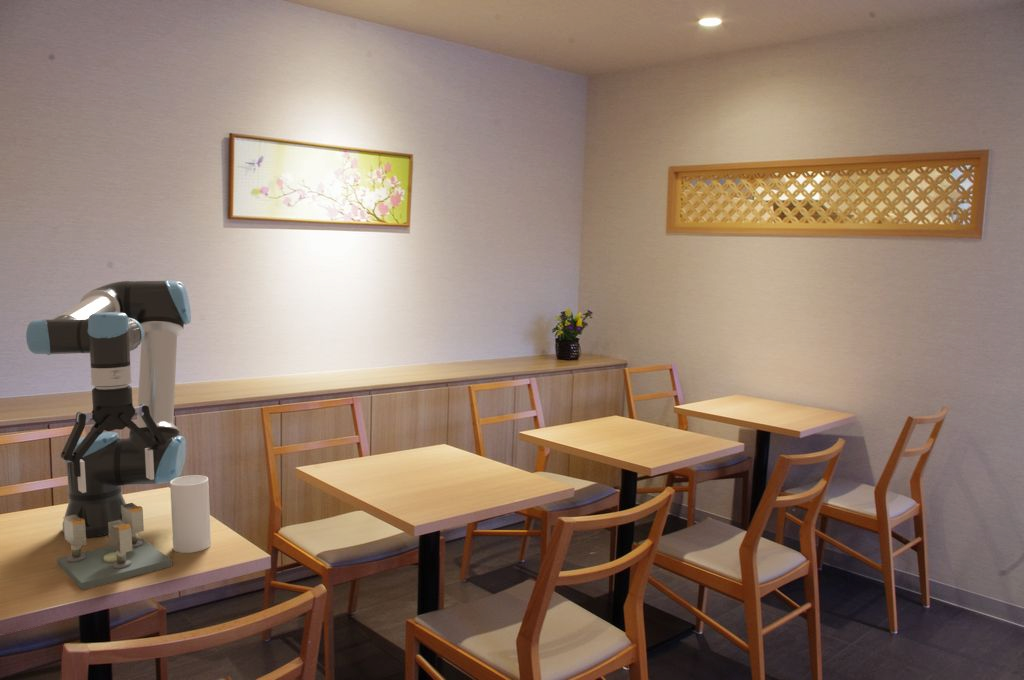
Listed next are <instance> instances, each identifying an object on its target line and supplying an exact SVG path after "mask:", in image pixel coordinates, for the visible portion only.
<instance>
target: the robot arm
mask: <svg viewBox="0 0 1024 680" xmlns="http://www.w3.org/2000/svg"><path fill="white" fill-rule="evenodd" d="M188 295H189V294H188V291H187V289H186V286H185V285H184V283H183V282H181V281H179V280H178V281H176V280H166V279H164V280H123V281H122V280H121V281H116V282H115V281H114V282H111V283H108V284H106V285H102V286H99V287H97V288H95V289H92V290H90V291H89V292H87V293H86V294H85V295H83V296H82V298H81V299H80V301H79V303H77V304H76V305H74V306H72V307H70V308H69V309H68V310H65V312H62V313H61V314H60V315H57V317H55V318H52V319H46V318H43V319H35V320H32V321H30V322H29V323H28V326H27V328H26V333H25V334H26V335H25V337H26V339H25V340H26V345H27V348H28V350H29V351H30V352H31V353H32V354H34V355H48V356H50V355H68V354H69V355H70V354H73V355H75V354H89V360H90V362H89V363H90V380H91V381H90V383H91V385H92V386H93V388H92V389H91V397H92V398H91V399H92V411H91V412H81V411H79V412H78V411H77V412H76V414H75V423H74V425H73V427H72V429H71V432H70V434H69V436H68V438H67V440H66V442H65V445H64V446H63V449H62V452H61V453H60V458H61V459H62V460H64V461H65V463H66V472H67V485H68V502H67V503H68V505H67V507H66V511H65V515H64V517H66V516H71V515H77V516H78V517H79V518H80V519H81V518H83V519H84V520H85V529H86V538H93V537H94V538H95V537H102V536H106V535H109V527H108V522H112V521H117V520H121V521H122V513H121V505H123V504H127V503H126V501H125V498H124V496H123V492H122V486H136V485H137V486H138V485H153V484H156V485H161V484H168V483H169V484H170V482H171V480H173V479H175V478H178V477H181V474H182V472H183V468H184V466H185V461H186V454H187V447H186V446H187V440H186V438H185V436H182V435H180V429H179V428H178V427H177V426H176V425H175V424H174V420H175V419H174V417H175V416H174V414H175V411H174V410H175V394H176V392H175V391H176V390H175V389H176V372H177V371H176V369H177V368H176V367H177V349H178V346H177V345H178V344H177V343H178V337H179V336H180V335H181V334H183V332H184V328H185V327H184V326H185V325H186V326H187V325H188V324H190V323H191V319H192V313H191V306H190V305H191V304H190V299H189V296H188ZM139 346H140V358H139V359H140V361H139V376H138V393H137V394H138V397H137V406H134V404H133V389H132V386H131V385H130V384H131V383H132V371H131V369H132V367H131V351H134V350H135V349H137V348H138V347H139ZM136 413H137V414H136ZM135 415H137V416H136V423H135V422H134V421H133V420H132V418H133V417H134V416H135ZM90 420H92V421H93V422H94V423H93V425H92V427H91V428H90V431H89V432H88V433H87V434H86V436H82V434H83V432H84V430H85V427H86V424H88V423H89V422H90ZM125 428H128V430H129V435H128V436H129V437H127V438H120V435H119V432H116V431H115V430H124V429H125ZM62 533H63V534H64V535H65V533H64V519H63V522H62Z"/></svg>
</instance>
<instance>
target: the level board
mask: <svg viewBox="0 0 1024 680" xmlns="http://www.w3.org/2000/svg"><path fill="white" fill-rule="evenodd" d="M56 561H57V562H56V564H57V566H58V567H59V568H60V569H61V570H62V571H63V573H65V574H66V575H67V576H68V577H69V578H70V579H71V581H73V582H74V583H75V585H77V586H78V588H80V590H82V591H84V590H88V589H91V588H96V587H98V586H102V585H106V584H110V583H114V582H118V581H122V580H126V579H129V578H132V577H136V576H140V575H143V574H147V573H150V572H155V571H157V570H158V571H159V570H162V569H165V568H169V567H172V566H173V563H172V559H171V558H170V557H169V556H168V555H166V554H165V553H164V552H162V551H160V550H159V549H158V548H156V547H155V546H153V545H152V544H151V543H150V542H148V541H147V540H145V539H144V538H143V537H141V538H138V542H136V543H132V551H129V552H126V562H125V563H120V564H119V563H117V554H116V549H114V548H113V547H112V546H111V545H107V546H103V547H98V548H94V549H91V550H87V551H83V552H82V551H81V556H79V557H72V554H70V555H65V556H62V557H57V558H56Z"/></svg>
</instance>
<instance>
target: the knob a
mask: <svg viewBox="0 0 1024 680" xmlns="http://www.w3.org/2000/svg"><path fill="white" fill-rule="evenodd" d="M63 520H64V533H65V534H64V533H63V534H64V540H66V541H67V542H68V543H69V544H70V547H71V549H70V550H71V555H72V557H79V556H81V553H82V550H81V549H82V546H86V545H87V537H86V529H85V520H84V519H83V518H81V519H80V518H79V517H78V516H77V515H71V516H66V517H65V516H63Z"/></svg>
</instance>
